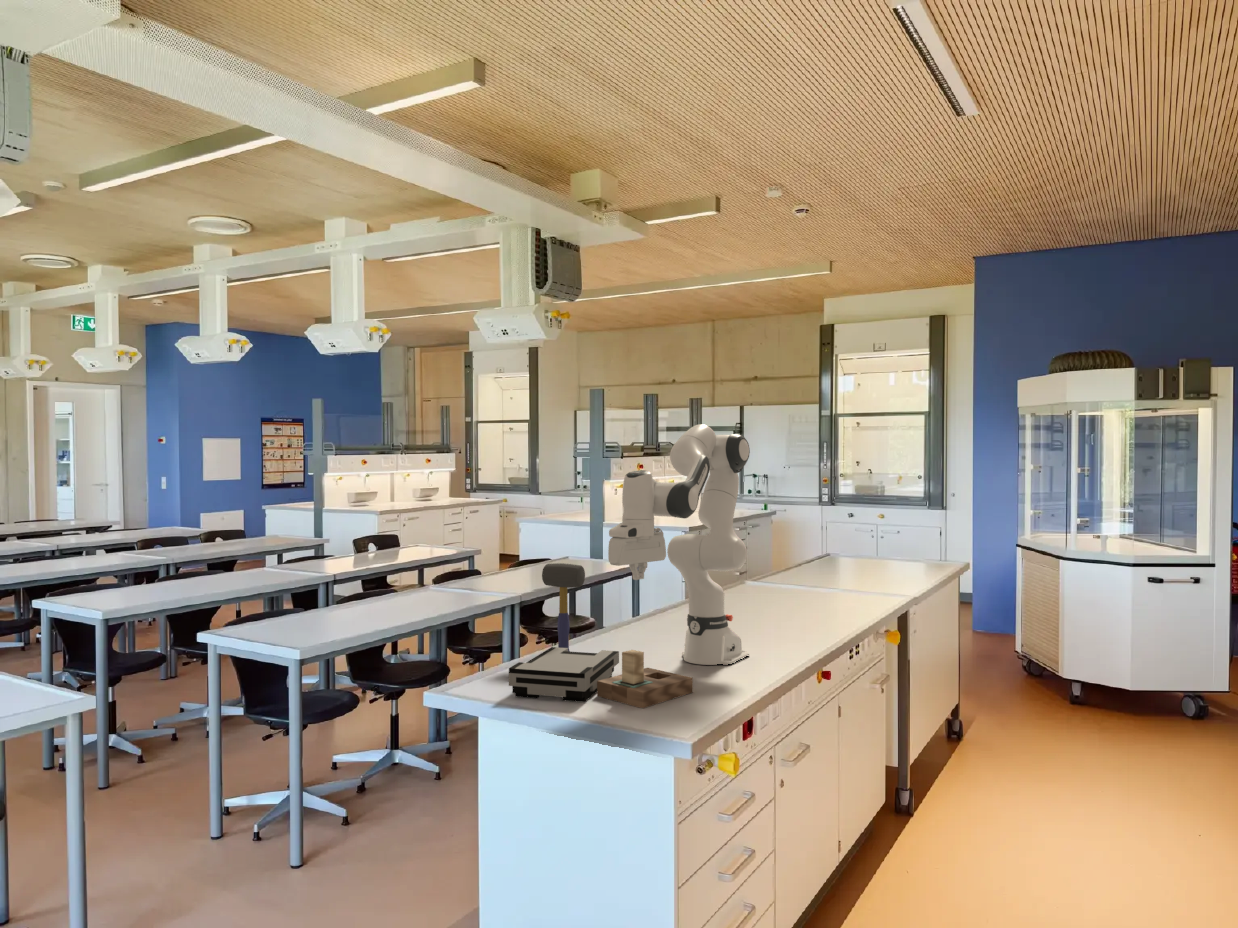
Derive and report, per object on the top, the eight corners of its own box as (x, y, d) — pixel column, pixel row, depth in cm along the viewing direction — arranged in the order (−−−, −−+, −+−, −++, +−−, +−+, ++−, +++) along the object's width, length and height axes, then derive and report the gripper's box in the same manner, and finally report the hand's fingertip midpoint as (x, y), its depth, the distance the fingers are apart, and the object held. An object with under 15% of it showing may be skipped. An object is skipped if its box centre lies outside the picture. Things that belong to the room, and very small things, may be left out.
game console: (619, 675, 242) (619, 646, 242) (584, 705, 211) (584, 673, 211) (551, 670, 247) (551, 642, 247) (508, 699, 217) (508, 668, 217)
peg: (632, 694, 220) (632, 649, 220) (644, 697, 217) (644, 651, 217) (621, 698, 217) (621, 652, 217) (633, 701, 214) (633, 654, 214)
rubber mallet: (540, 660, 259) (540, 563, 259) (551, 655, 266) (551, 561, 266) (576, 663, 254) (576, 565, 254) (586, 658, 261) (586, 562, 261)
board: (647, 681, 233) (647, 666, 233) (692, 692, 222) (692, 676, 222) (597, 696, 219) (597, 680, 219) (642, 708, 208) (642, 691, 208)
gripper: (654, 526, 240) (654, 574, 240) (604, 530, 225) (604, 581, 225) (671, 527, 236) (671, 576, 236) (621, 531, 221) (621, 584, 221)
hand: (638, 579), depth 230 cm, fingers closed
